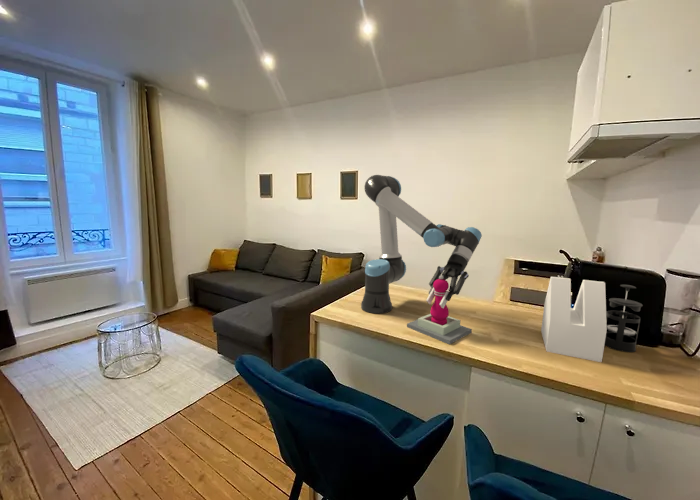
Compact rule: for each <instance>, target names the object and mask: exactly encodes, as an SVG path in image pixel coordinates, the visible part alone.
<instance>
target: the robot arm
mask: <svg viewBox="0 0 700 500" xmlns="http://www.w3.org/2000/svg"><path fill="white" fill-rule="evenodd" d="M364 192H365V195H366V196H367V198H369V199H370V200H371V201H372V202H373V203H374V204H375V206H377V207H378V216H379V229H380V230H379V231H380V232H379V233H380V245H381V246H380V247H381V248H380V250H381V254H380V255H379V256H378V259H371V260H369V261H368V262H366V263H365V269H364V276H365V277H364V294H363V297H362V298H363V299H362V301H361V303H360V304H361V305H360V308H361V310H362V311H364V312H367V313H370V314H385V313H386V314H387V313H388V312H390V311H393V303H392V301H391V297H390V284H392V283H394V282H397V281H400V280H401V279H402V278H403V277H404V276H405V274H406V273H407V265H406V262H405V261H404V260H403V256H402V254H401V253H400V252H399V243H398V242H399V240H398V225H397V219H398V220H400V221H401V222H402V223H403V224H405V225H406V226H407V227H409V228H410V229H411V230H413V232H415V233H416V234H417V235H419V236H420V237H421V238H422V239H423V243H424V244H425V245H426V246H427V247H428V248H429V247H431V248H437V247H441V246H442V245H443V246H444V245H446V244H447V245H451V246H453V247H454V249H453V251H452V253H451V254H450V256H449V258H448V259H447V263H446V265H444V266H440V265H438V266H437V269H436V271H435V273H434V274H433V276H432V278H431V279H430V281H429V283H428V285H429V286H430V290H429V291H428V296H427V298H426V299H425V301H426V302H427V303H428V305H431V304H432V302H433V300H434V299H435V294H434V290H435V289H434V287H433V283H434V281H435V280H437V279H439V276H440V275H442V276H443V277H444V278H443V279H444V280H446V281H447V280H448V279H449V278H450V284H449V288H448V289H447V290H446V293H445V295H444V297H443V298H442V300H441V302H440V304H439V305H440V306H441V308H444V307H445V305H447V303H448V302H450V300H451V299H452V297H453V296H454V295H459V294H460V292H461V291H462V288H463V286H464V284H465V282H466V280H467V279H468V278H469V273H468V272H467V271H466V268H467V266H468V264H469V262H470V260H471V258H472V256H473V254H474V252H475V250H476V249H477V247H478V245H479V244H480V241H481V239H482V236H483V235H482V232H481V231H480V229H478V228H477V227H473V226H467V227H466V228H465V229H464V230H463V229H458V228H455V227H451V226H449V225H446V224H441V223H439V224H435V223H433V222H432V221H431V219H428V218H427V217H426V216H425V215H423V214H422V213H420V212H419V211H418V210H417V209H415V208H414V207H413V206H411V205H410V204H408V203H407V202H406V201H405V200H403V199H402V198H400V195H401V192H402V185H401V183H400V181H399V179H397V178H395V177H393V176H392V175H391V176H390V175H381V174H374V175H371V176H369V177H368V178H367V179H366V181H365V183H364ZM458 278H459V279H458Z"/></svg>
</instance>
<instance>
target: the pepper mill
mask: <svg viewBox="0 0 700 500" xmlns="http://www.w3.org/2000/svg"><path fill="white" fill-rule="evenodd" d="M443 278H444V277H443V276H442V274H441V275H440V276H439V279H437V280H435V281H434V283H433V287H434V289H435V290H434V294H435V297H434V302H433V304H432V306H431V308H430V311H429V312H430V313H429V314H431V315H432V318H431V322H434V323H436V324H439V325H442V326H443V325H445V324H447V319H446V318H447V317H448V316H449V315H450V314H449V313H450V311H449V307H448V305H447V304H446V305H445V307H444V308H441V306H440V305H439V304H440V302H441V300H442V298H443V297H444V295H445V293H446V291H448V289H449V288H450V284H449V282H448V281H447V279H446V280H444V279H443Z"/></svg>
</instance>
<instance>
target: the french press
mask: <svg viewBox="0 0 700 500" xmlns="http://www.w3.org/2000/svg"><path fill="white" fill-rule="evenodd" d="M619 286H620V287H622V288H625V298H619V297H618V298H617V297H611V298H609V299H608V301H609V307H611V308H616V307H623V310H608V311H607V310H606V323H607V322H608V318H610V319H612V320H614V321H617V322H618V324H616V325H615V324H607V330H608V331H606V338H605V344H604V347H607V348H610V349H613V350H615V351H619V352H624V353H635V352H636V351H637V347H636V345H637V341H638V335H639V329H640V324H641V317H640V316H639V315H637V314H634V313H631V312H628V311H625V310H626V307H627V308H629V309H631V310H633V311H634V312H637V313H638V312H640V311H641V308H642V307H643V306H644V305H643V304H642V303H641V302H638V301H635V300H633V299H632V300H631V299H627V298H628V292H630V289H637V287H636V286H634V285H630V284H620V285H619ZM615 315H619V316H615ZM627 317H628V318H627ZM629 317H630V318H632V319H630V318H629ZM626 323H627V324H638V325H637V329H636V330H637V331H636V330H634V329H632V328H629V327H626ZM634 336H635V338H634Z"/></svg>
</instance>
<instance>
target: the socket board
mask: <svg viewBox="0 0 700 500" xmlns="http://www.w3.org/2000/svg"><path fill="white" fill-rule="evenodd" d="M431 318H432V315H431V314H430V313H429V314H426V315H423V316H420V317H418V318H417V319H415V320H413V321H410V322H408V323H406V327H407V328H409V329H411V330H413V331H416V332H418V333H421V334H423V335H426V336H428V337H430V338H432V339H435V340H438V341H440V342H442V343H445V344H448V345H451V344H453V343H454V342H455V343H456V342H457V341H458V340H460V339H462V338H464V337H466V336H468V335H470V334H472V330H473V329H472V328H471V327H467V326H463V325H461V319H458V318H455V317H452V316H449V315H448V317H447V318H446V319H447V324H445V325H443V326H442V325H439V324H436V323H434V322H431Z"/></svg>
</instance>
